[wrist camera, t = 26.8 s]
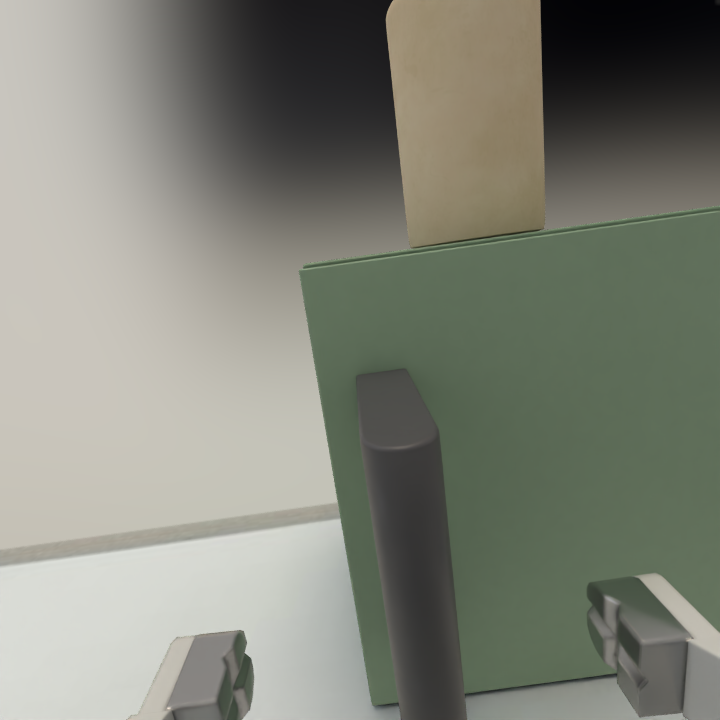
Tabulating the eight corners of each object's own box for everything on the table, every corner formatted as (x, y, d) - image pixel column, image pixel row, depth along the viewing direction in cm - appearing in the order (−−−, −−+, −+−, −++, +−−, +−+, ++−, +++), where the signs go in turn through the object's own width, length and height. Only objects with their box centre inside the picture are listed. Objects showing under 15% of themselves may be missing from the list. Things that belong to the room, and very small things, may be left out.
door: (920, 854, 10) (1125, 154, 6) (383, 925, 10) (258, 275, 7) (708, 635, 17) (746, 206, 13) (370, 681, 17) (302, 269, 13)
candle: (387, 253, 19) (357, -2, 16) (481, 240, 21) (467, 12, 18) (464, 240, 14) (437, -129, 11) (578, 225, 16) (575, -90, 13)
